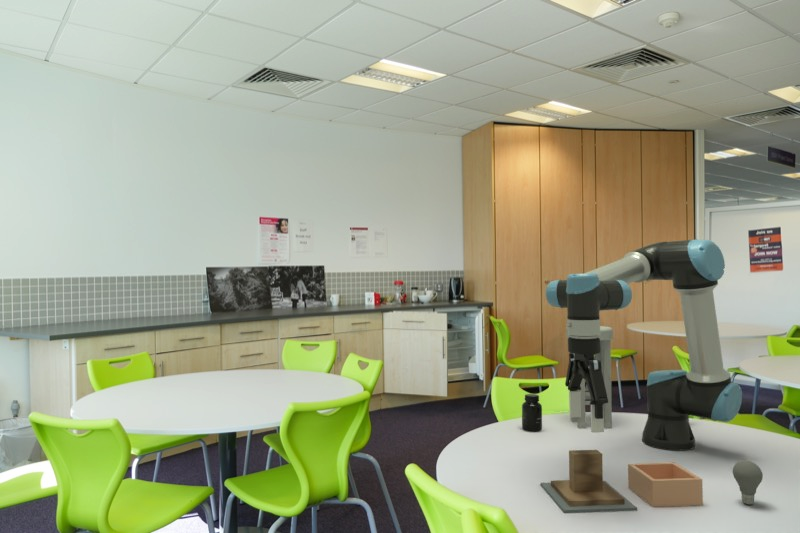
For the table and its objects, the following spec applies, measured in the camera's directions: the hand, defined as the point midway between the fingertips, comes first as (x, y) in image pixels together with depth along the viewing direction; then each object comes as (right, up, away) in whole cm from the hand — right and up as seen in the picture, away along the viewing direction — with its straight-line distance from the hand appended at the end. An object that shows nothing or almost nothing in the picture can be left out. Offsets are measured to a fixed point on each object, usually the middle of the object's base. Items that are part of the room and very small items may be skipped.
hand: (585, 424), depth 137 cm
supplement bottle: (+1, -19, +60) cm, 63 cm away
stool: (+24, -19, +66) cm, 73 cm away
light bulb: (+36, -17, -5) cm, 40 cm away
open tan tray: (+19, -17, 0) cm, 26 cm away
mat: (0, -18, -1) cm, 18 cm away
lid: (0, -17, 0) cm, 17 cm away
